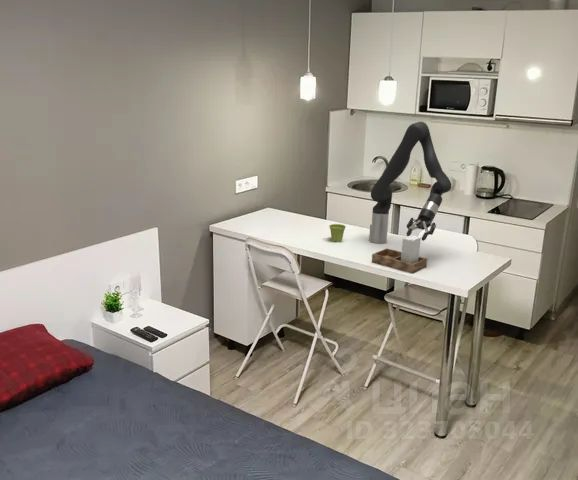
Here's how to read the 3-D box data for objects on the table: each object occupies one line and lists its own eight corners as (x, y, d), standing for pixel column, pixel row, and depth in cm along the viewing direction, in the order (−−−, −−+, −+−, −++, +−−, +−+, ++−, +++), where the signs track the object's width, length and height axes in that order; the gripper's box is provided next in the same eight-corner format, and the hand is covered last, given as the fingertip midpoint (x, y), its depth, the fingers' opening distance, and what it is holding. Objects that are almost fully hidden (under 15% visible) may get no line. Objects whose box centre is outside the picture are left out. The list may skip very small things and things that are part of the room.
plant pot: (325, 239, 354) (326, 224, 351) (339, 237, 358) (340, 223, 355) (333, 243, 346) (334, 229, 343) (348, 241, 350) (348, 227, 347)
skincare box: (408, 262, 315) (411, 234, 311) (418, 264, 311) (421, 236, 307) (399, 265, 309) (402, 237, 305) (410, 268, 305) (412, 240, 301)
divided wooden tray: (371, 262, 316) (372, 254, 315) (386, 256, 326) (387, 248, 325) (412, 273, 301) (413, 264, 300) (426, 266, 311) (427, 258, 310)
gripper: (414, 205, 316) (400, 231, 311) (439, 210, 307) (425, 237, 302) (418, 213, 321) (405, 238, 316) (443, 219, 312) (429, 245, 308)
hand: (415, 238), depth 309 cm, fingers open, 8 cm apart
